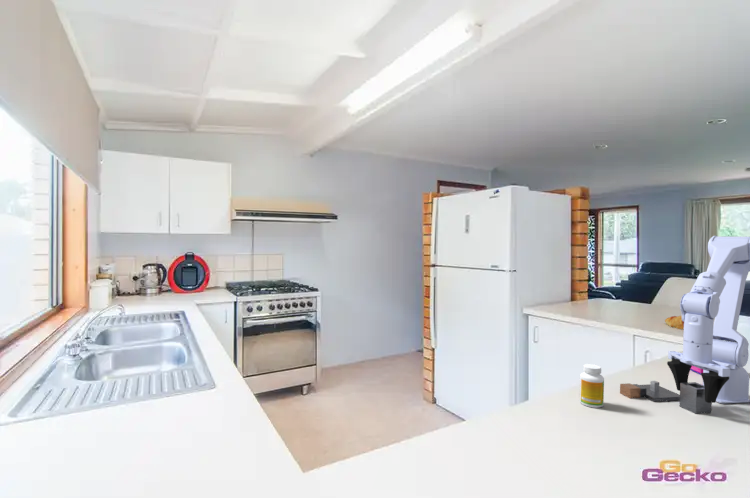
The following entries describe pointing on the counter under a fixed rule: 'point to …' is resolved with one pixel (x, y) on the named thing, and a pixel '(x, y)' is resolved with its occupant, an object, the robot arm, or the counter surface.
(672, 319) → the croissant
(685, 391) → the hollow square tube
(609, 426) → the counter surface
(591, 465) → the counter surface
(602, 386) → the supplement bottle
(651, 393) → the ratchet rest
